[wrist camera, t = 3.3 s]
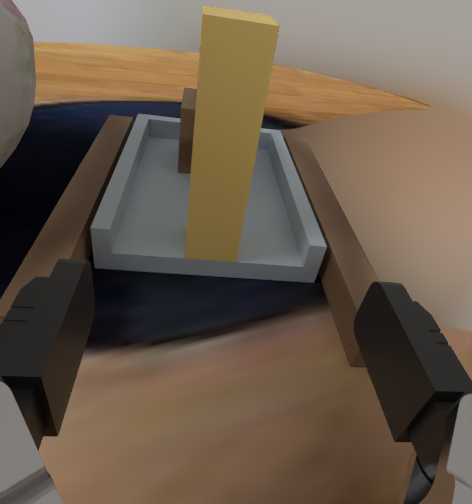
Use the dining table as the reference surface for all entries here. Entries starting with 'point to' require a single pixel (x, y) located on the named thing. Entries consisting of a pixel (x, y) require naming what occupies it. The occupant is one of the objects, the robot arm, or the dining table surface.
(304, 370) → the dining table surface
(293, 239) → the shallow grey tray
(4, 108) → the ceramic pitcher
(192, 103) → the block
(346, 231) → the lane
